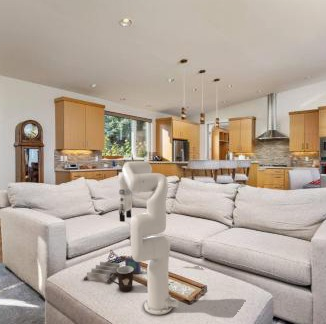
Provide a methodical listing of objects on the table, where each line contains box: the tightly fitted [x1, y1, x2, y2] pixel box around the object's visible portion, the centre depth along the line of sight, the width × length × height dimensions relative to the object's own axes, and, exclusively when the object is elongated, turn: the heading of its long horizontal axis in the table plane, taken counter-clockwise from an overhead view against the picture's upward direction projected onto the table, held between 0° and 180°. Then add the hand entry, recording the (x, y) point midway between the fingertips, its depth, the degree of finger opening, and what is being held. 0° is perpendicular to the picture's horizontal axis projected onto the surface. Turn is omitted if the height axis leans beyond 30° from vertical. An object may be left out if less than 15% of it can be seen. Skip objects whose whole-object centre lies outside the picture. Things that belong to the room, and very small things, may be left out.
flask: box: [124, 254, 142, 275], centre depth 148 cm, size 9×3×11 cm, turn 76°
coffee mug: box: [108, 265, 134, 293], centre depth 131 cm, size 12×9×10 cm
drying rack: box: [83, 261, 121, 285], centre depth 146 cm, size 15×17×4 cm
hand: (125, 219), depth 158 cm, fingers open, 9 cm apart
